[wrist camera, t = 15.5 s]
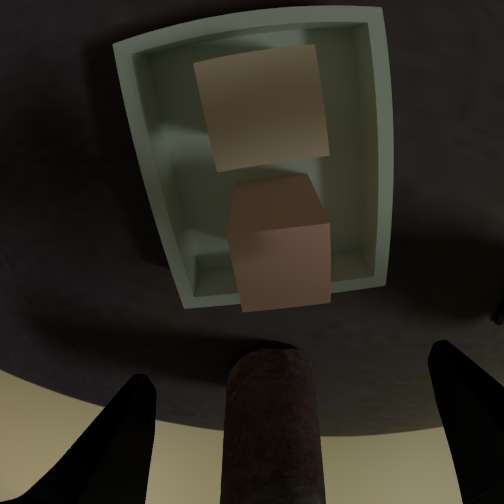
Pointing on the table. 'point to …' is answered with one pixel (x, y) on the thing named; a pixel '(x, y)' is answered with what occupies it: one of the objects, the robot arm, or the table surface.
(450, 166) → the table surface
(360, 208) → the sage tub
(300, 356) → the candle
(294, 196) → the coral block
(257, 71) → the maple block
